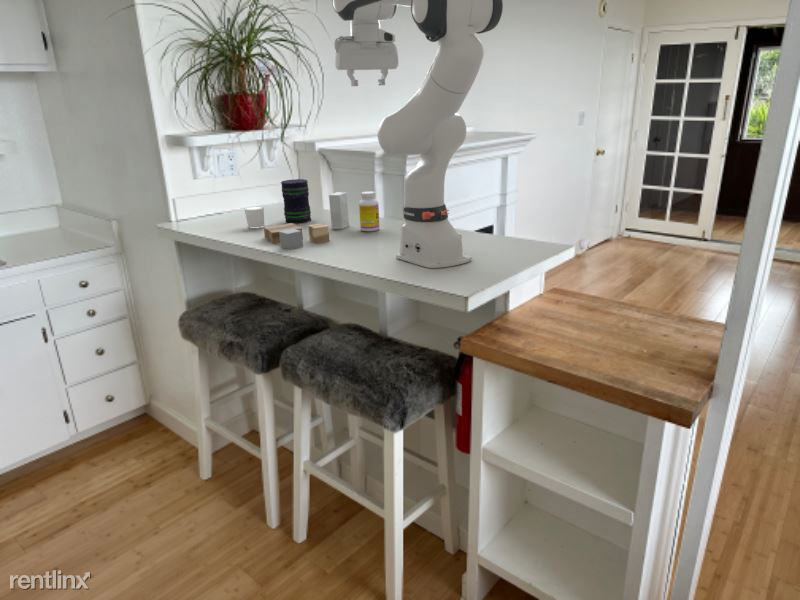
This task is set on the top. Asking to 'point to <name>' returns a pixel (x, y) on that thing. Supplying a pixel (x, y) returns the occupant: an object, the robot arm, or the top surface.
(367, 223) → the supplement bottle
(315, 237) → the oak cube
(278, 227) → the walnut block
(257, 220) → the shot glass
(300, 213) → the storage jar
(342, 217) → the skincare box
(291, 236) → the grey cube
